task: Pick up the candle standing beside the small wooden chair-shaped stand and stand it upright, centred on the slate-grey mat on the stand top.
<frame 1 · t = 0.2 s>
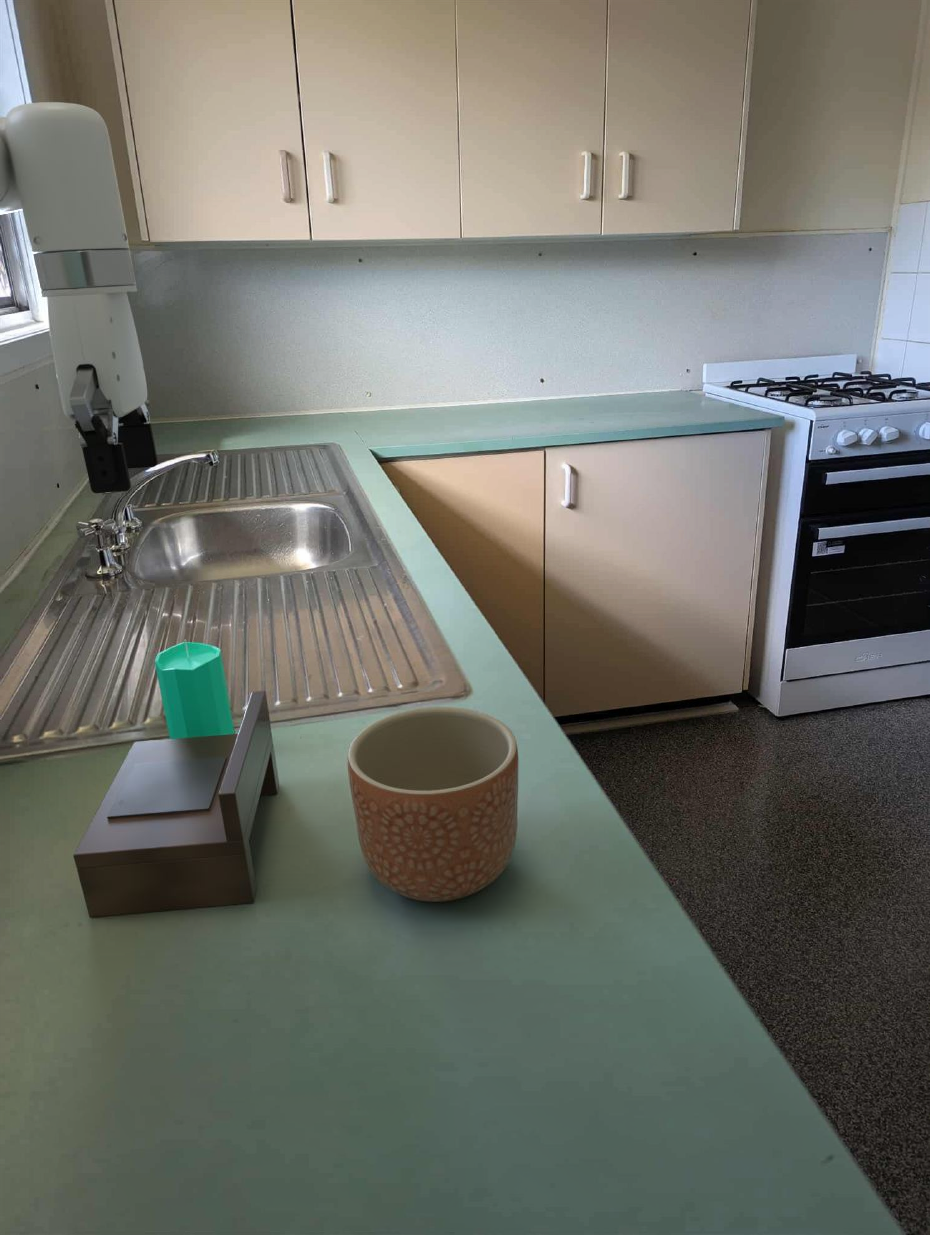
hand: (127, 478, 79), 27 cm above the worktop, tool pointing down, fingers open, 9 cm apart
wooden chair-shaped stand: (194, 844, 72), on the worktop
candle: (206, 753, 86), on the worktop
planter: (441, 871, 67), on the worktop
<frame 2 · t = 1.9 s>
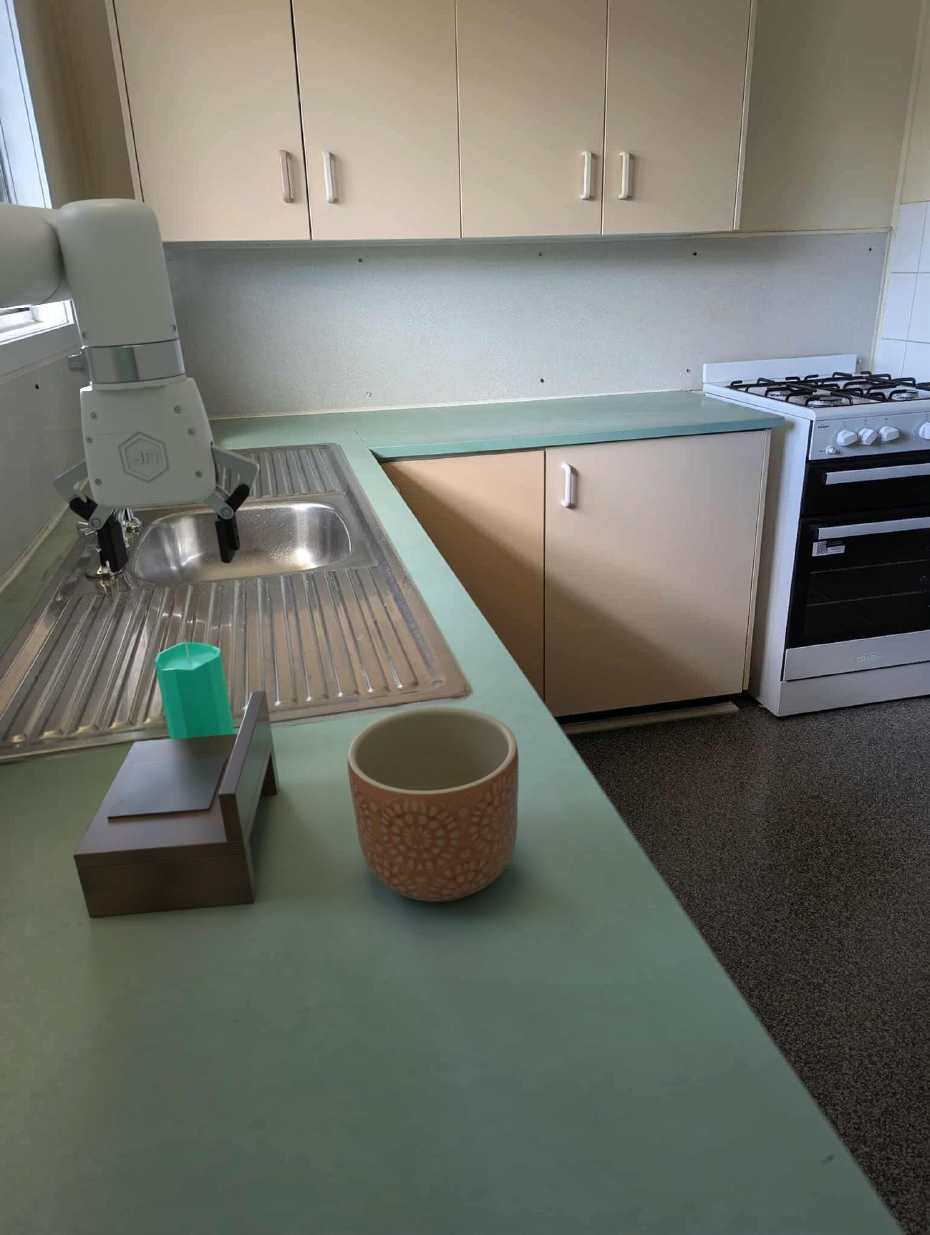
hand: (174, 563, 78), 19 cm above the worktop, tool pointing down, fingers open, 9 cm apart
nothing on the worktop moved.
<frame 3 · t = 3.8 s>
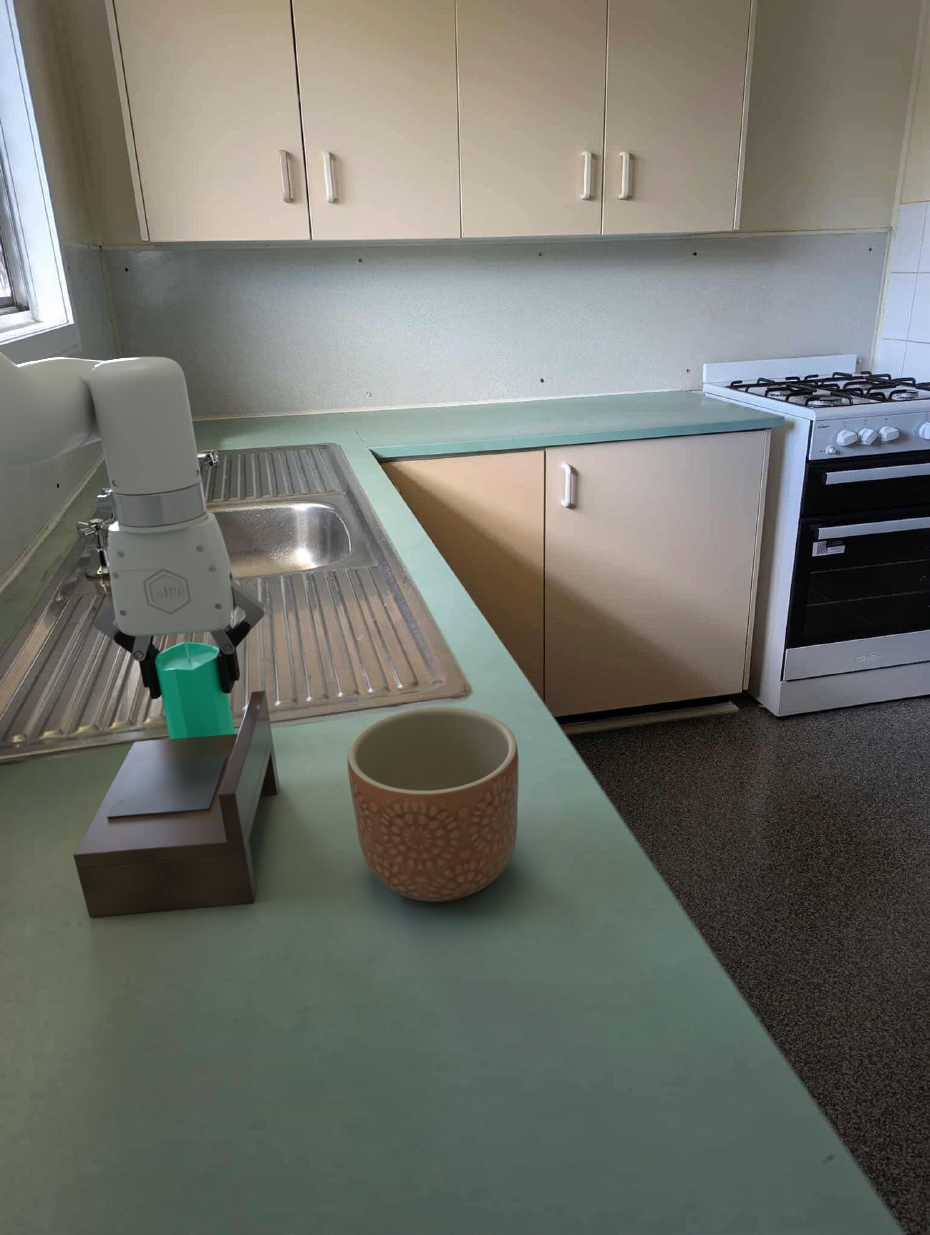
hand: (194, 688, 83), 7 cm above the worktop, tool pointing down, fingers closed on candle, 5 cm apart
candle: (206, 753, 86), on the worktop, touching gripper
everything else where it was.
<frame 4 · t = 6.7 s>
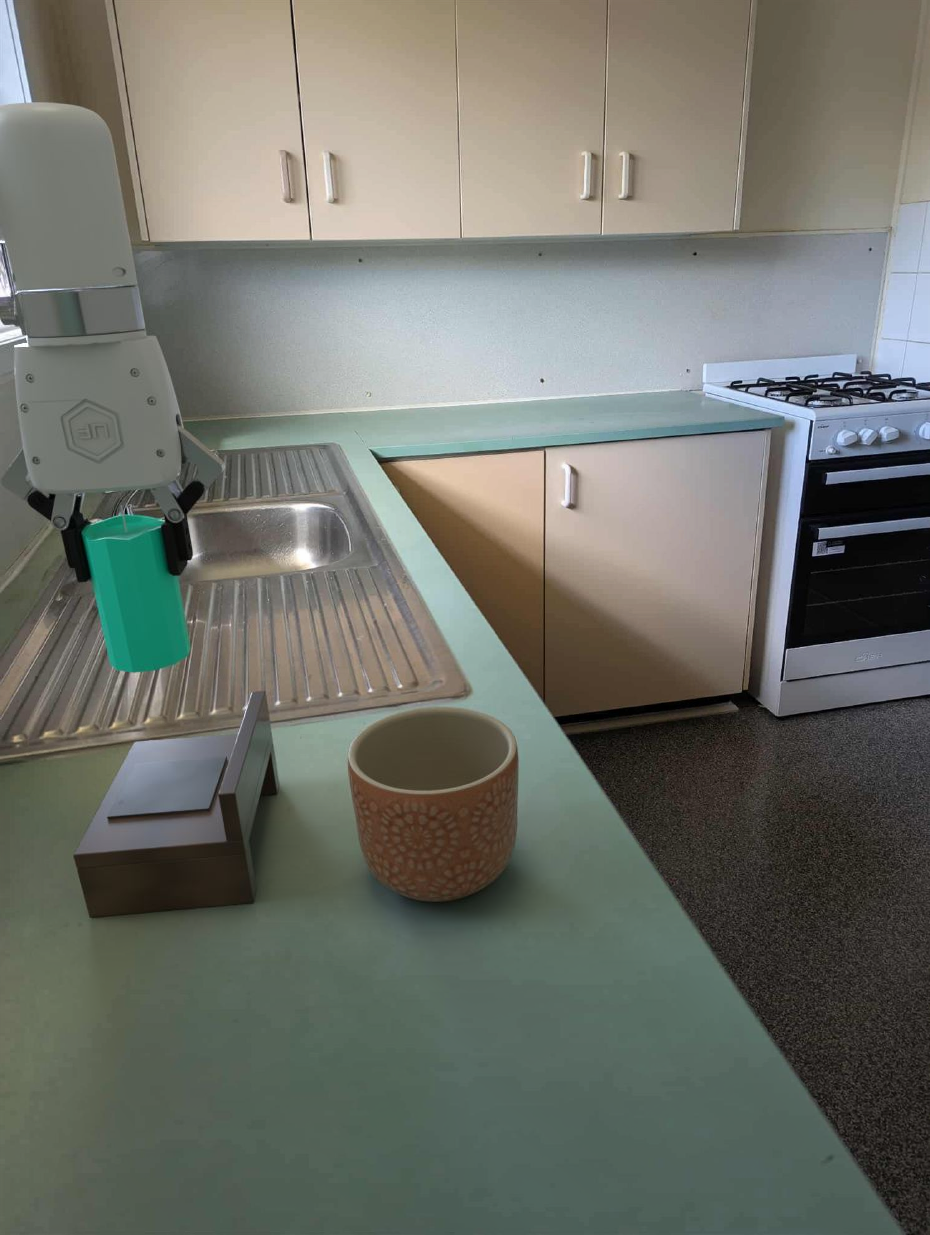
hand: (134, 571, 65), 23 cm above the worktop, tool pointing down, fingers closed on candle, 5 cm apart
candle: (151, 658, 68), point 16 cm above the worktop, touching gripper
everything else where it was.
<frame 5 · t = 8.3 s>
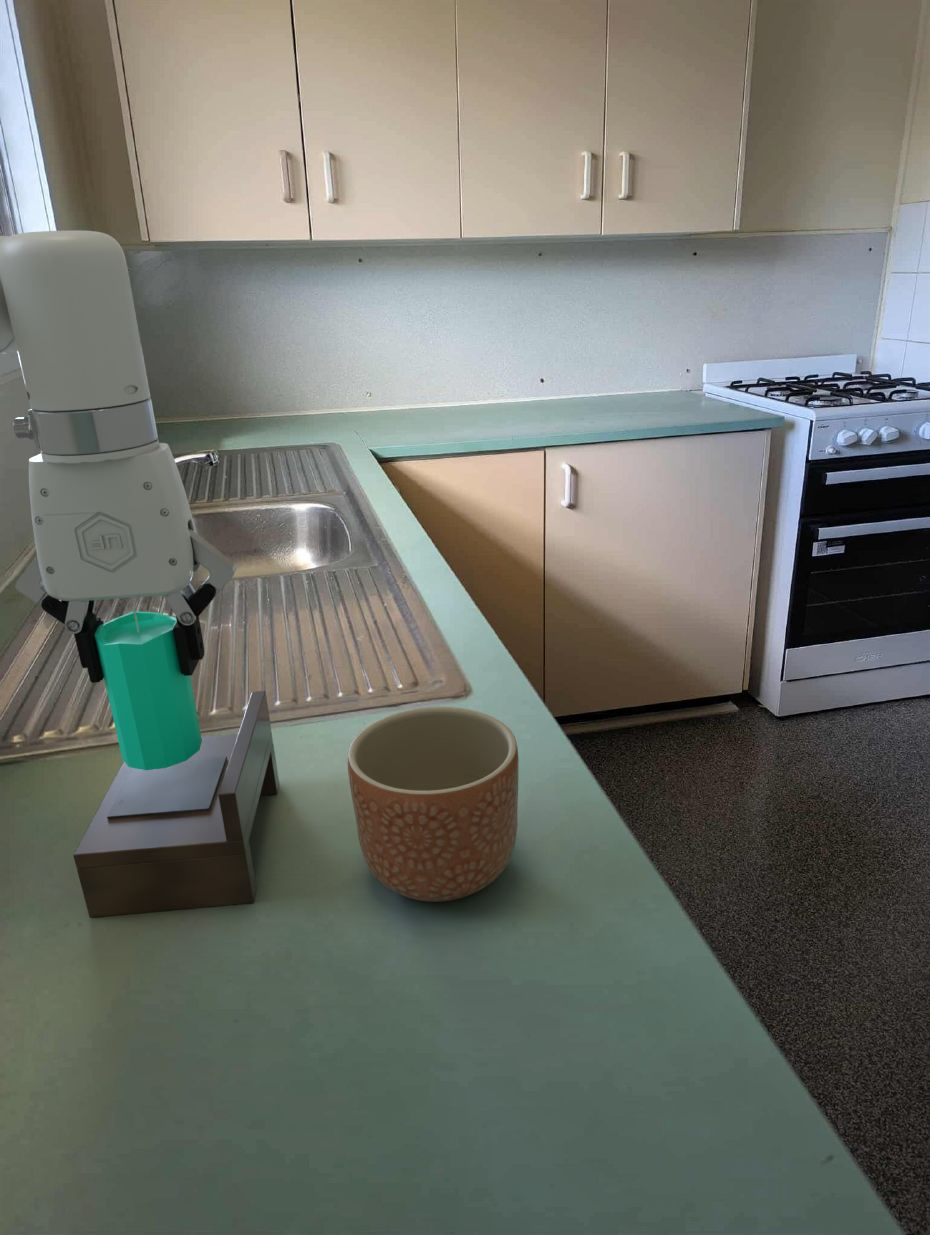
hand: (146, 669, 66), 16 cm above the worktop, tool pointing down, fingers closed on candle, 5 cm apart
candle: (163, 751, 68), point 9 cm above the worktop, touching gripper
everything else where it was.
when the fingers open (13 cm above the worktop, at t = 9.6 s): candle stays where it is, resting on wooden chair-shaped stand.
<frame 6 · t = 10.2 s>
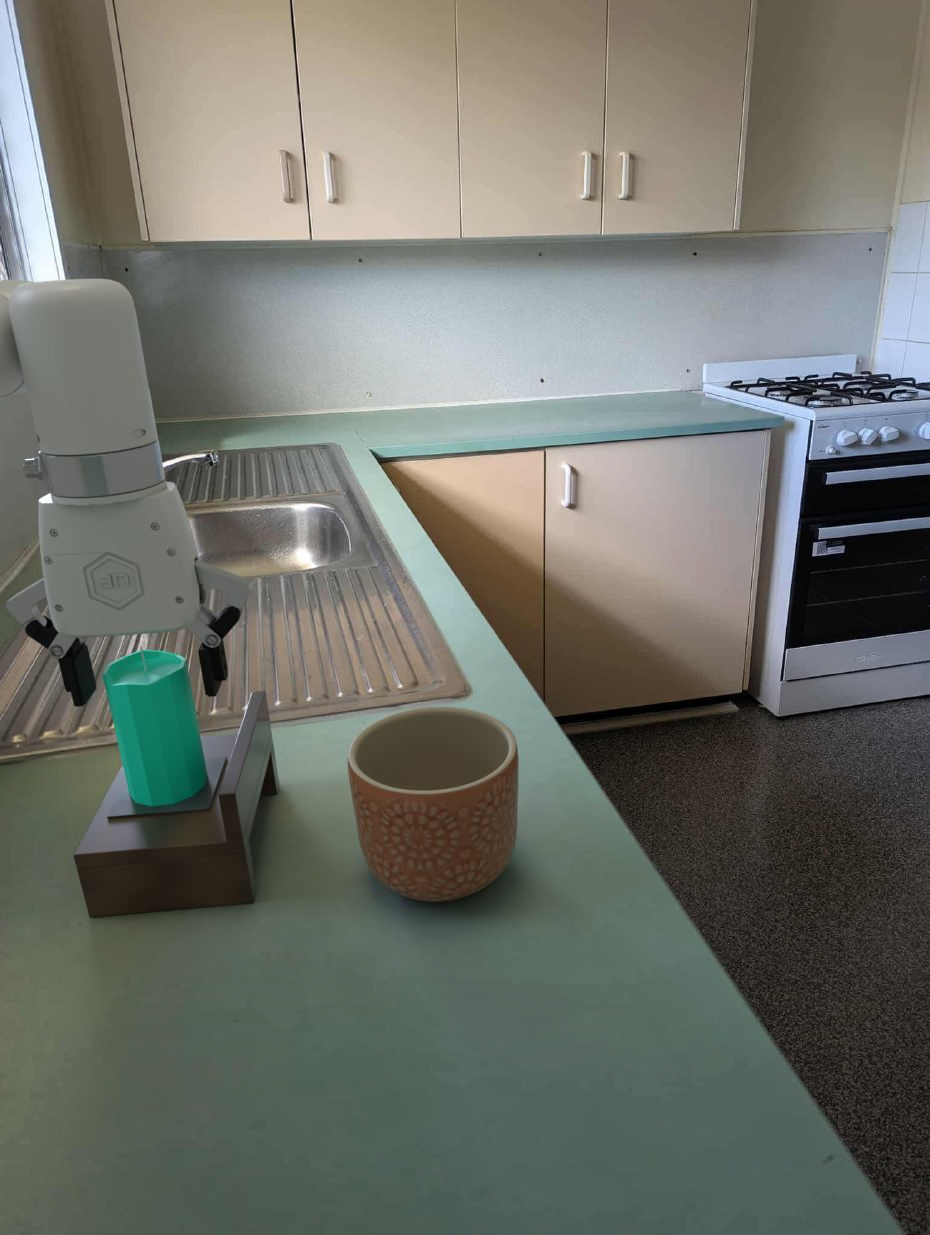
hand: (150, 693, 67), 14 cm above the worktop, tool pointing down, fingers open, 9 cm apart
candle: (169, 786, 70), point 6 cm above the worktop, touching wooden chair-shaped stand
everything else where it was.
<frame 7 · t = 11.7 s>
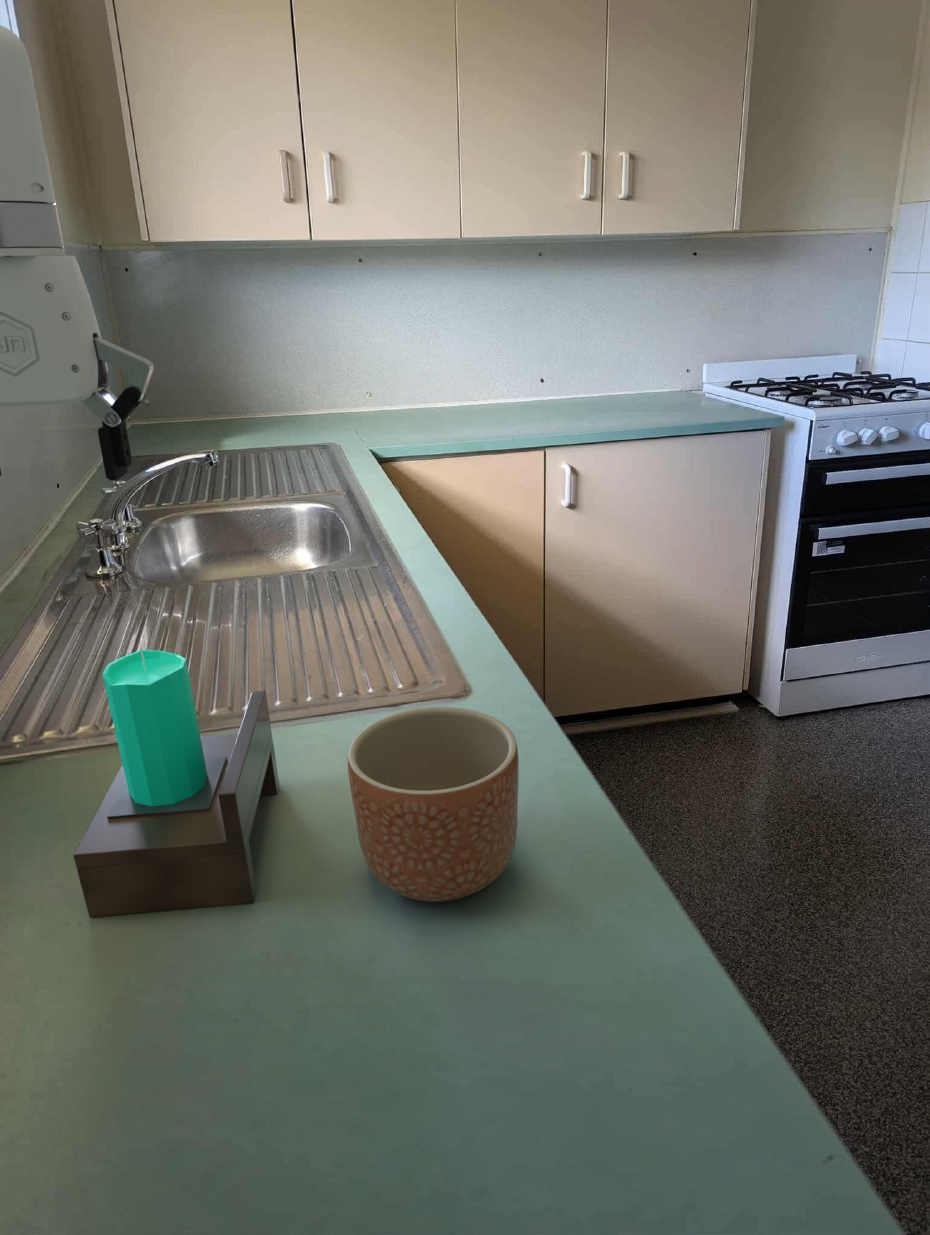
hand: (53, 478, 67), 29 cm above the worktop, tool pointing down, fingers open, 9 cm apart
nothing on the worktop moved.
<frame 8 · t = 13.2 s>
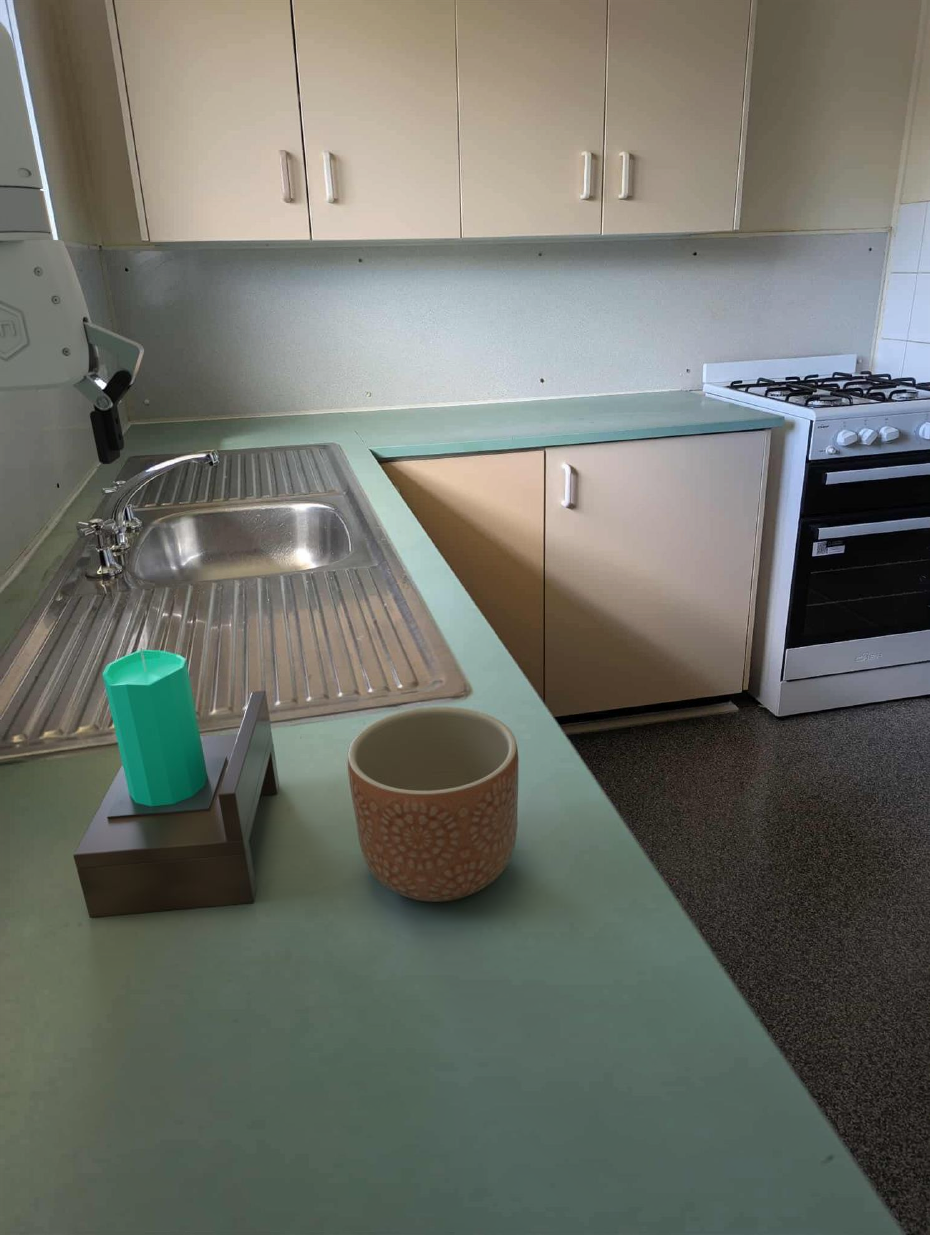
hand: (47, 464, 67), 30 cm above the worktop, tool pointing down, fingers open, 9 cm apart
nothing on the worktop moved.
at the end: candle 0.1 cm from the target spot on the wooden chair-shaped stand, point 5.6 cm above the wooden chair-shaped stand's base; candle tilted 0°; the gripper is holding nothing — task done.
